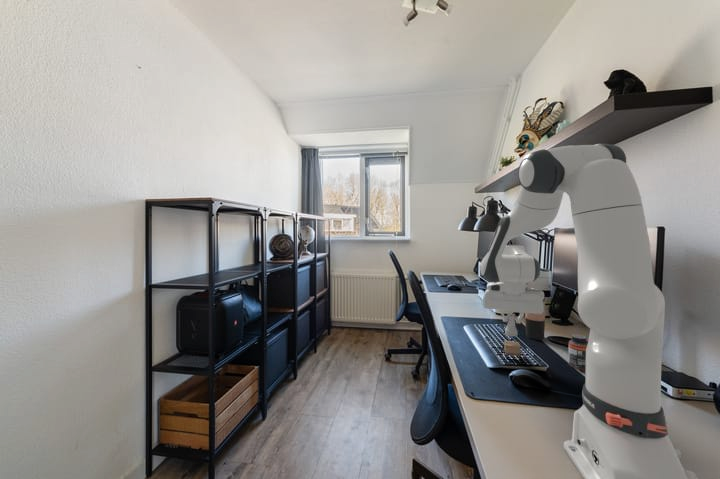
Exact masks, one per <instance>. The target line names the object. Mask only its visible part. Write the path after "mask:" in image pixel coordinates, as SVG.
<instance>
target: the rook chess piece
mask: <svg viewBox="0 0 720 479" xmlns="http://www.w3.org/2000/svg"><path fill="white" fill-rule="evenodd" d="M506 316H507V318H508V322H507V323H506V328H505V329H504V331H505V332H504V333H505V335H507V336H509V337H517V336H518V330H517V327H516V318H517V316H516V314H515V313H512V312H511V313H510V312H508V313H507V315H506Z"/></svg>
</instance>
